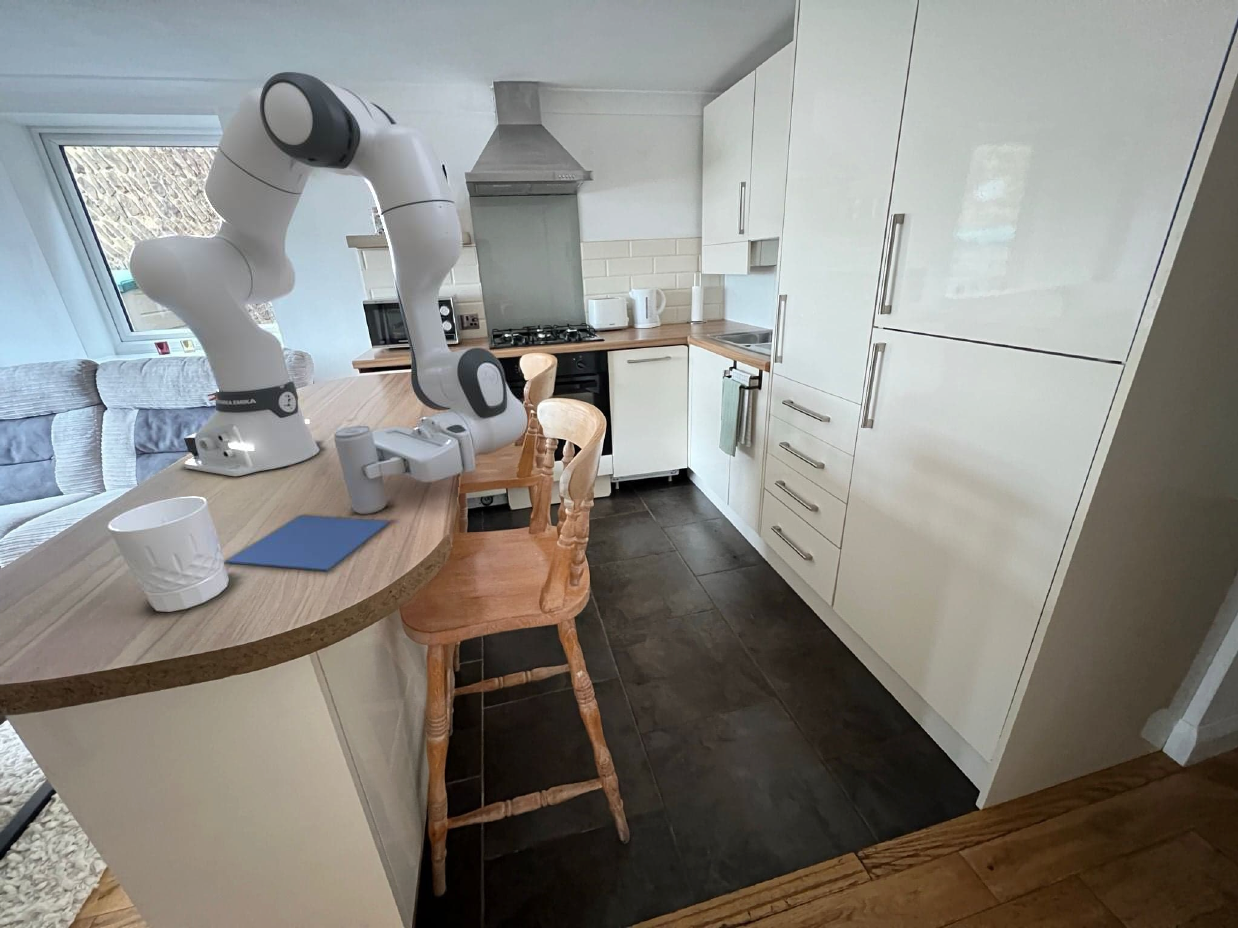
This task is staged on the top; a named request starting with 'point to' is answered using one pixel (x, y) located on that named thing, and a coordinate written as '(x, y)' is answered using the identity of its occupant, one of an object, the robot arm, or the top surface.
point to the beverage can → (360, 468)
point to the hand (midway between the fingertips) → (355, 468)
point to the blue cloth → (309, 543)
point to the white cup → (172, 552)
